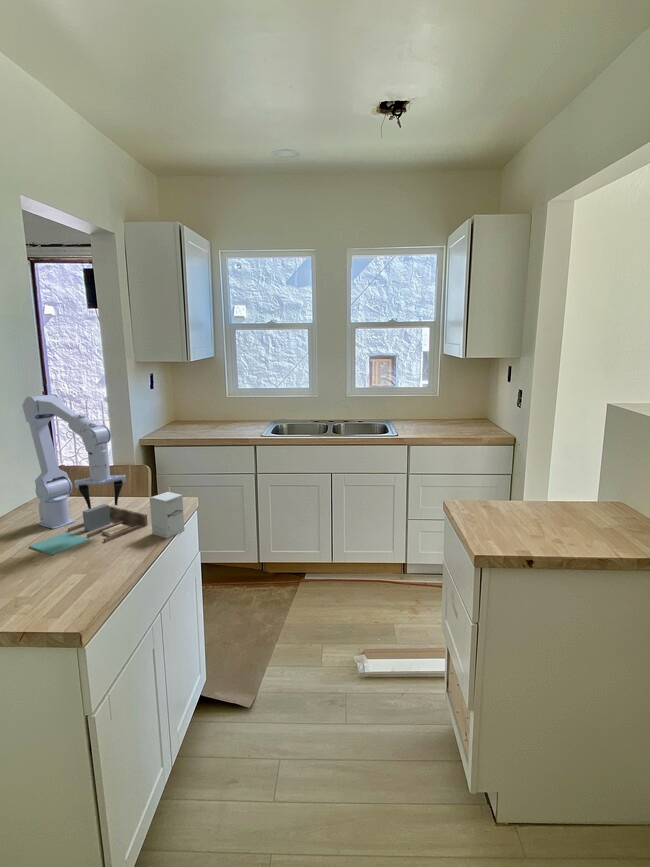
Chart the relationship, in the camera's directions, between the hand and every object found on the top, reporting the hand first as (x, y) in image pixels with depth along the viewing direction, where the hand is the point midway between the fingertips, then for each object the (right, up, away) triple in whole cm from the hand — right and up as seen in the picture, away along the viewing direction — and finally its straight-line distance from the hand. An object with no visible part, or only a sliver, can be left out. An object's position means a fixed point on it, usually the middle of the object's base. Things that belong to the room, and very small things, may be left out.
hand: (103, 506), depth 153 cm
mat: (-11, -11, -5) cm, 16 cm away
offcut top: (+3, -9, +3) cm, 10 cm away
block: (-5, -9, +7) cm, 12 cm away
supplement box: (+20, -9, +2) cm, 22 cm away
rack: (-2, -9, +5) cm, 10 cm away
